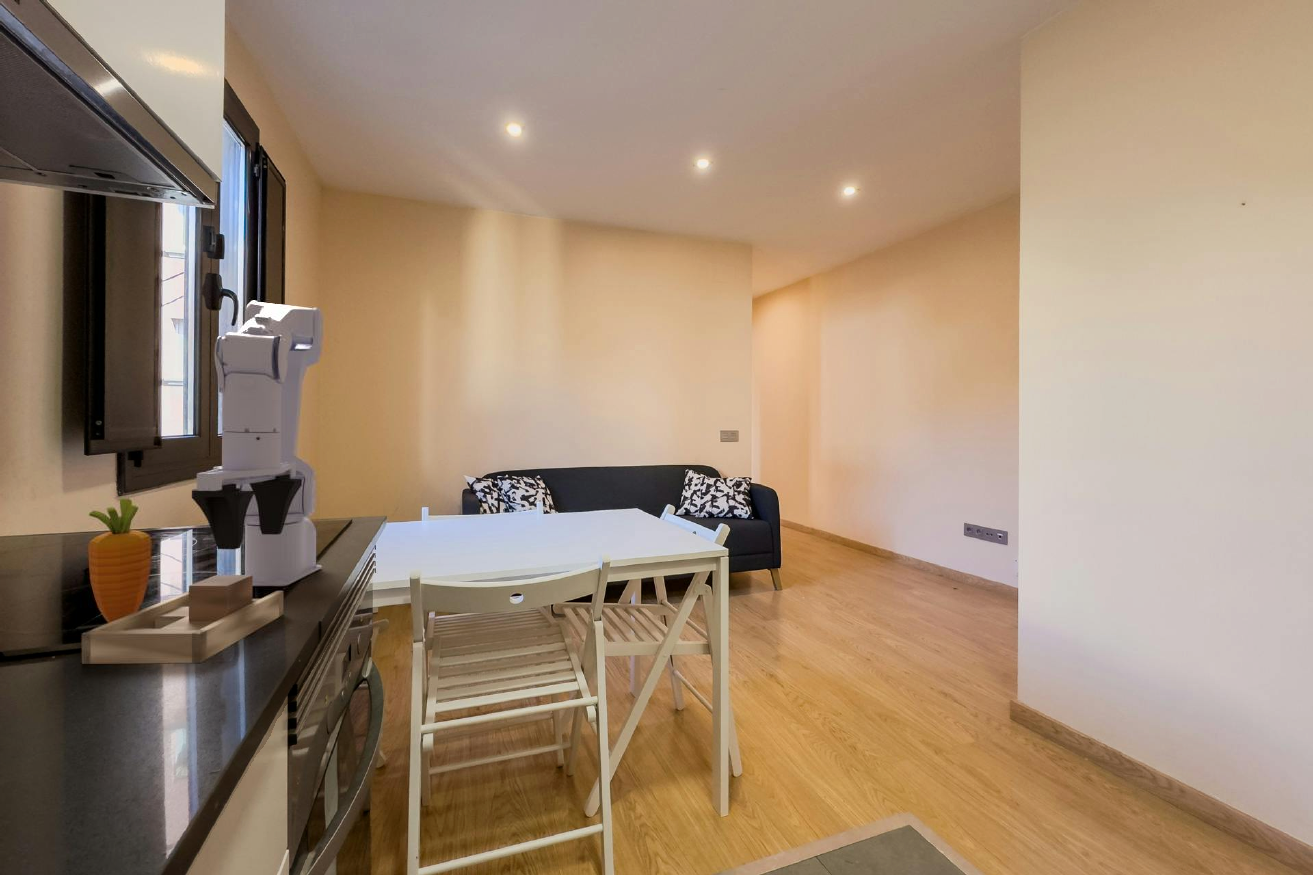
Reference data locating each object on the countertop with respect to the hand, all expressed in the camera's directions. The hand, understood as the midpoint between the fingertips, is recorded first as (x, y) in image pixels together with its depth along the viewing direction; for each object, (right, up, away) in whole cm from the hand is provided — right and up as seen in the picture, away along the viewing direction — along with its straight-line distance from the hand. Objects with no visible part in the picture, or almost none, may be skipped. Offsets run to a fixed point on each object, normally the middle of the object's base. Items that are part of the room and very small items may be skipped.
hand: (251, 540), depth 64 cm
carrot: (-11, -9, -5) cm, 15 cm away
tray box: (-2, -10, -6) cm, 11 cm away
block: (0, -8, -5) cm, 9 cm away
